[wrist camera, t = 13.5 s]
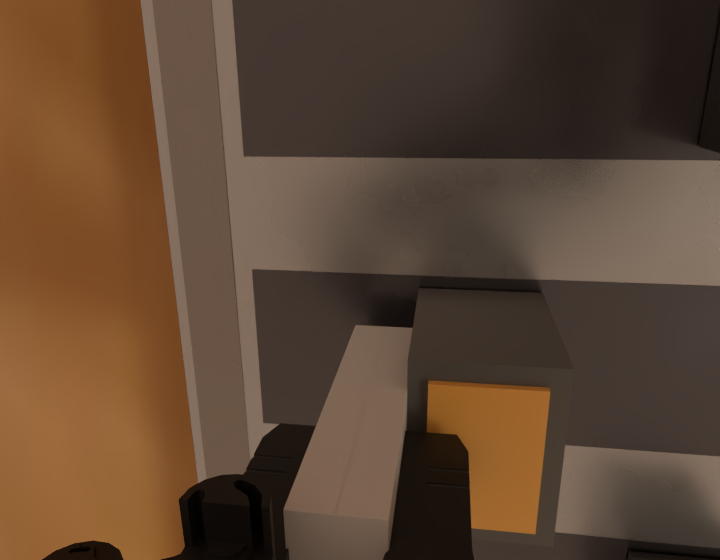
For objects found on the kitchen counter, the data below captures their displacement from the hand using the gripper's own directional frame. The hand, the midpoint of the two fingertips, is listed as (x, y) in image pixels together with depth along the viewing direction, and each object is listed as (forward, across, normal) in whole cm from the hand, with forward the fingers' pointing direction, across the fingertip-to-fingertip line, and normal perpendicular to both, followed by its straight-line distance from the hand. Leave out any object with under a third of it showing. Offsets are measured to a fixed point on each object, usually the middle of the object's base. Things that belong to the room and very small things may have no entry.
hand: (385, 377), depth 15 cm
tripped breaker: (+1, +2, 0) cm, 2 cm away
